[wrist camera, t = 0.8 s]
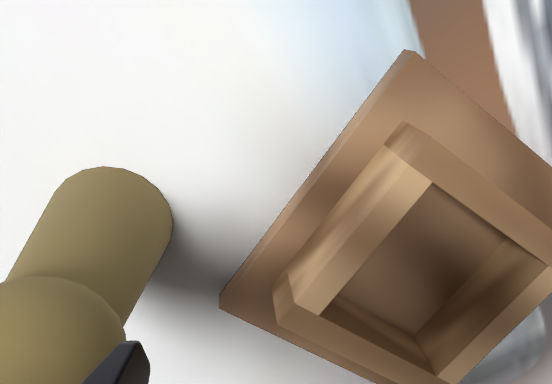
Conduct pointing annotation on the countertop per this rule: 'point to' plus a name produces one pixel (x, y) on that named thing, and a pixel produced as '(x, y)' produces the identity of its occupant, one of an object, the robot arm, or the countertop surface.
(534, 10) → the countertop surface
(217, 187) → the countertop surface
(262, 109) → the countertop surface
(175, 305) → the countertop surface
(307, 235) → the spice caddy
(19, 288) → the cork
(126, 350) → the robot arm
